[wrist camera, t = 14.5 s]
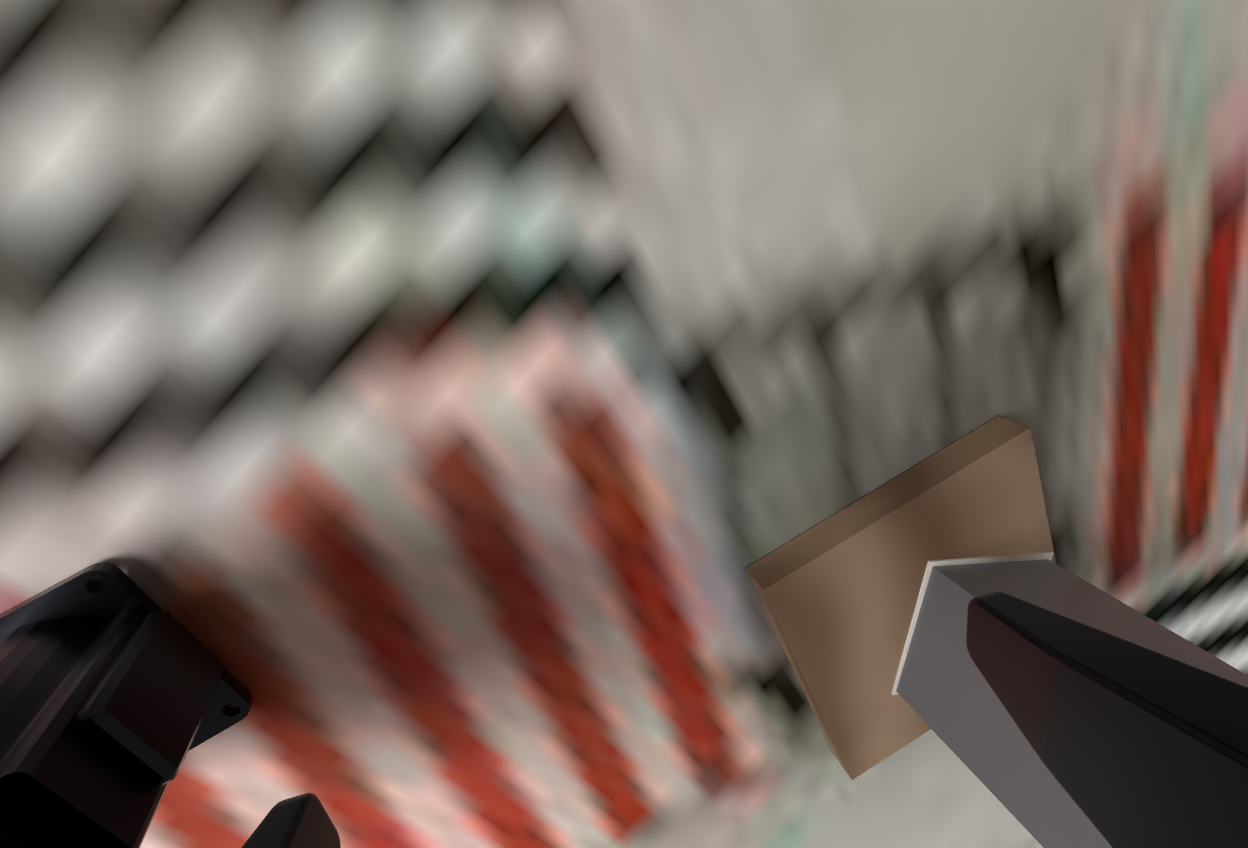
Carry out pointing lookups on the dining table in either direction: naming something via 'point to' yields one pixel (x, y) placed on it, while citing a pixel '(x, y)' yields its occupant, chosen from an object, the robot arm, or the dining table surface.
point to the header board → (895, 579)
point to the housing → (973, 713)
